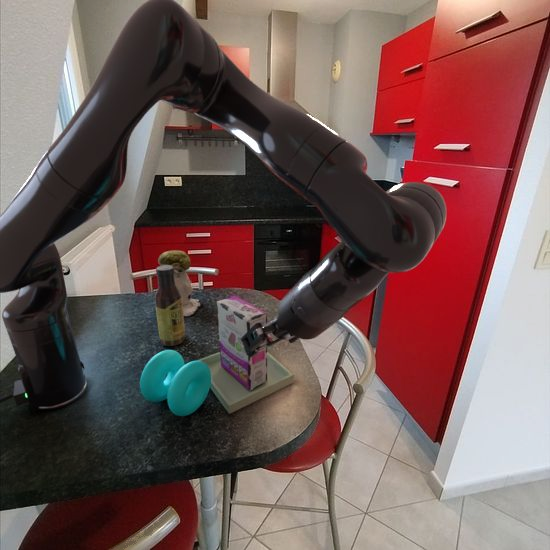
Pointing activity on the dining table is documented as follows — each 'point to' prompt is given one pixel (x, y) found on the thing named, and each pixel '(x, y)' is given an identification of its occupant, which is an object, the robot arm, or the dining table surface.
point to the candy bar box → (232, 327)
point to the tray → (235, 392)
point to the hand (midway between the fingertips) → (269, 344)
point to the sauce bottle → (169, 308)
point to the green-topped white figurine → (181, 278)
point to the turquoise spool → (176, 382)
